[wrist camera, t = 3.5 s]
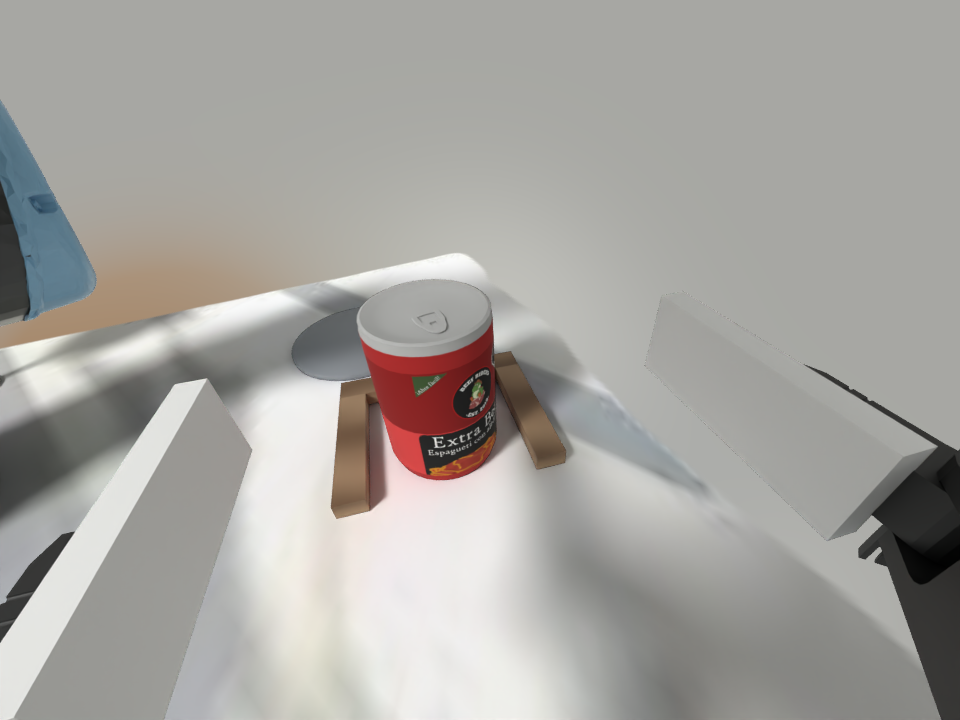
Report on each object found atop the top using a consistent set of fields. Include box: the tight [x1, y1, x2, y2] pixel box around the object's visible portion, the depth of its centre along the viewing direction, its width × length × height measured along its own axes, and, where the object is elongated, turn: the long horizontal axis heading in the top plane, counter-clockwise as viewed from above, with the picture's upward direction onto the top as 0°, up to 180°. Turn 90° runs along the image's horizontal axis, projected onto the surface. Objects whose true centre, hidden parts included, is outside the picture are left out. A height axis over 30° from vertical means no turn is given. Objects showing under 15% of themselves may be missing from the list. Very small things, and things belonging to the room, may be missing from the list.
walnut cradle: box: [331, 351, 566, 519], centre depth 29 cm, size 12×15×1 cm
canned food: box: [357, 279, 497, 480], centre depth 24 cm, size 8×8×11 cm
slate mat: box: [292, 307, 371, 381], centre depth 39 cm, size 13×13×1 cm
